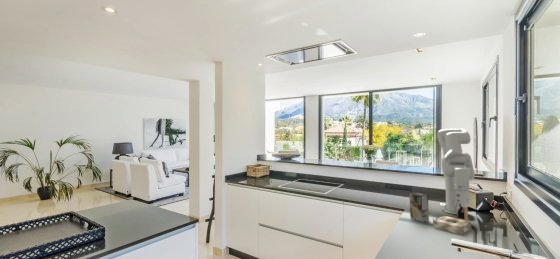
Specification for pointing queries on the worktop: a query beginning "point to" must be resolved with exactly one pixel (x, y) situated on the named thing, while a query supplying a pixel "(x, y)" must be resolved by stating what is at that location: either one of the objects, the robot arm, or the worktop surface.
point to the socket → (452, 224)
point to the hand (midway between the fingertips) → (462, 217)
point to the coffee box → (419, 207)
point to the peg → (464, 213)
